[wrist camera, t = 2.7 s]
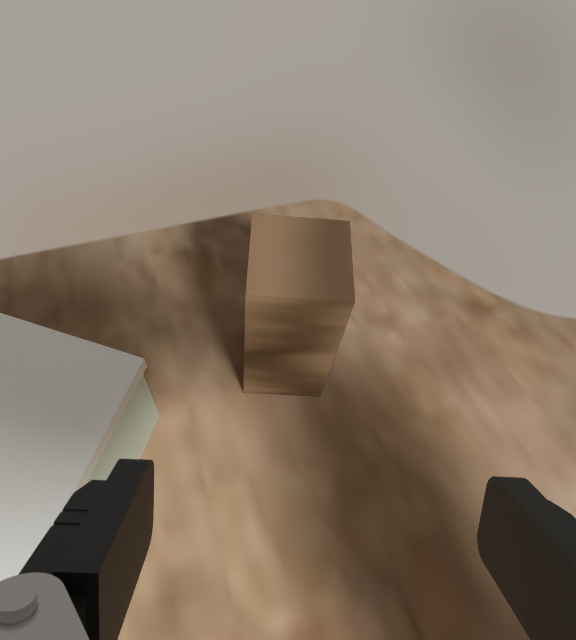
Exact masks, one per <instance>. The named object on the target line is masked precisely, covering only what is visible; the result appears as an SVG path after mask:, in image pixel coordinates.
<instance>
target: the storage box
mask: <svg viewBox="0 0 576 640" xmlns="http://www.w3.org/2000/svg"><path fill="white" fill-rule="evenodd" d="M146 368H147V364H146V362H145V359H144V358H141V357H138V356H135V355H132V354H129V353H126V352H122V351H119V350H116V349H113V348H110V347H107V346H103V345H100V344H97V343H94V342H91V341H88V340H84V339H81V338H78V337H75V336H72V335H69V334H65V333H62V332H59V331H56V330H53V329H50V328H46V327H43V326H40V325H37V324H34V323H31V322H27V321H24V320H21V319H18V318H15V317H11V316H8V315H5V314H2V313H0V581H2V580H4V579H7V578H9V577H12V576H15V575H18V574H19V573H20V571H21V570H22V568H23V567H24V565H25V564H26V562H27V561H28V559H29V558H30V556H31V555H32V553H33V552H34V551H35V549H36V548H37V546H38V545H39V543H40V542H41V540H42V539H43V537H44V536H45V534H46V533H47V531H48V530H49V528H50V527H51V526H53V524H54V521H55V520H56V518H57V517H58V515H59V514H60V512H62V511H63V508H64V506H65V505H66V503H67V502H68V500H69V499H70V497H71V496H72V494H73V493H74V492H75V491H77V490H78V489H80V488H81V487H83V486H84V485H85V484H87V483H88V482H90V481H91V480H107V478H108V476H109V475H110V473H111V471H112V470H113V468H114V466H115V465H116V463H117V461H118V460H119V459H140V457H141V455H142V453H143V451H144V449H145V446H146V444H147V442H148V440H149V438H150V436H151V434H152V432H153V429H154V427H155V425H156V423H157V421H158V419H159V417H160V415H159V413H158V410H157V408H156V405H155V402H154V400H153V397H152V395H151V392H150V390H149V387H148V385H147V382H146V380H145V377H144V375H143V374H144V372H145V370H146Z"/></svg>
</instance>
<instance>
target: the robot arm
mask: <svg viewBox="0 0 576 640" xmlns="http://www.w3.org/2000/svg"><path fill="white" fill-rule="evenodd" d="M153 507H154V463H153V460H143V459H119V460H118V461H117V463H116V465H115V466H114V468H113V470H112V471H111V473H110V475H109V476H108V478H107V480H91V481H90V482H88V483H87V484H85V485H84V486H83V487H81V488H80V489H78V490H77V491H75V492H74V493H73V494H72V496H71V497H70V499H69V500H68V502H67V503H66V505H65V506H64V508H63V511H62V512H60V514H59V515H58V517H57V518H56V520H55V521H54V524H53V526H51V527H50V528H49V530H48V531H47V533H46V534H45V536H44V537H43V539H42V540H41V542H40V543H39V545H38V546H37V548H36V549H35V551H34V552H33V553H32V555H31V556H30V558H29V559H28V561H27V562H26V564H25V565H24V567H23V568H22V570H21V571H20V573H19V574H18V575H15V576H12V577H9V578H7V579H4V580H2V581H0V640H117V639H118V636H119V633H120V630H121V627H122V624H123V622H124V619H125V616H126V613H127V610H128V607H129V604H130V601H131V598H132V595H133V592H134V590H135V587H136V584H137V581H138V578H139V575H140V572H141V569H142V566H143V563H144V561H145V558H146V555H147V552H148V549H149V545H150V541H151V536H152V529H153ZM477 542H478V549H479V553H480V557H481V559H482V561H483V563H484V565H485V566H486V568H487V569H488V571H489V573H490V574H491V576H492V578H493V579H494V581H495V582H496V584H497V586H498V587H499V589H500V591H501V592H502V594H503V595H504V597H505V599H506V600H507V602H508V604H509V605H510V607H511V608H512V610H513V612H514V613H515V615H516V617H517V618H518V620H519V621H520V623H521V625H522V626H523V628H524V630H525V631H526V633H527V634H528V636H529V638H530V639H531V640H576V519H575V518H574V517H573V516H572V515H571V514H570V513H568V512H567V511H565V510H564V509H562V508H560V507H559V506H557V505H556V504H554V503H553V502H551V501H549V500H547V499H546V498H545V497H544V496H543V495H542V494H541V493H540V492H539V491H538V490H537V489H536V488H535V487H534V486H533V485H532V484H531V483H530V482H529V481H528V480H527V479H525V478H516V477H495V476H494V477H491V478H490V479H489V481H488V483H487V486H486V491H485V496H484V502H483V507H482V512H481V517H480V522H479V528H478V534H477Z"/></svg>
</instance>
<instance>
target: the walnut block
mask: <svg viewBox="0 0 576 640" xmlns="http://www.w3.org/2000/svg"><path fill="white" fill-rule="evenodd" d="M354 303H355V293H354V278H353V263H352V248H351V233H350V221H341V220H329V219H316V218H303V217H290V216H278V215H265V214H252V222H251V234H250V246H249V258H248V270H247V282H246V294H245V339H244V386H243V393H262V394H280V395H299V396H317V397H320V395H321V392H322V389H323V387H324V384H325V381H326V379H327V376H328V373H329V371H330V368H331V365H332V363H333V360H334V357H335V354H336V352H337V349H338V346H339V344H340V341H341V338H342V336H343V333H344V330H345V328H346V325H347V322H348V319H349V317H350V314H351V311H352V309H353V306H354Z"/></svg>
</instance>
